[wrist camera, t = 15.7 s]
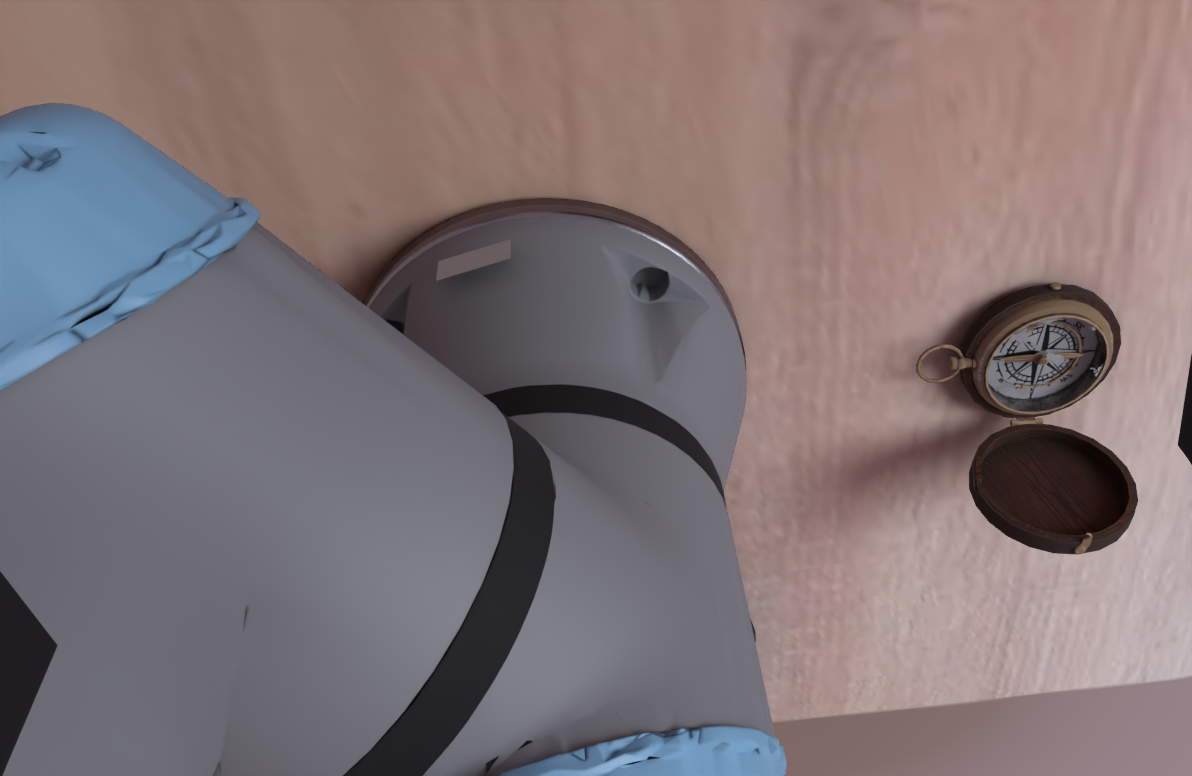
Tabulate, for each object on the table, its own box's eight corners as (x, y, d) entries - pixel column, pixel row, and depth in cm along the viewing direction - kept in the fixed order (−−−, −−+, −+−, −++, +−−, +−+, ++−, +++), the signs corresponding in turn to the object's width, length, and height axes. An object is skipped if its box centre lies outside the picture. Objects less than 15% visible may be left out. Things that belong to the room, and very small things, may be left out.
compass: (1129, 272, 43) (1222, 387, 37) (1082, 431, 48) (1159, 555, 42) (920, 284, 43) (982, 402, 37) (895, 442, 47) (946, 569, 42)
